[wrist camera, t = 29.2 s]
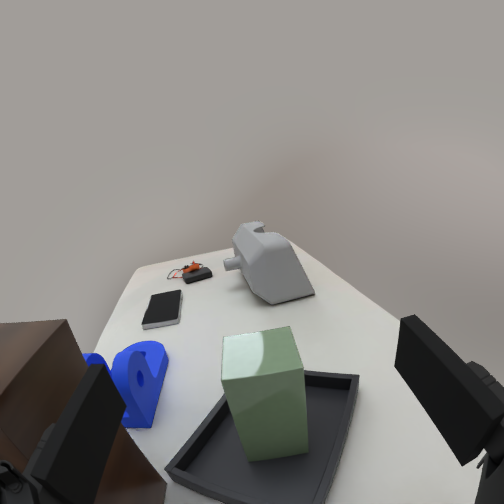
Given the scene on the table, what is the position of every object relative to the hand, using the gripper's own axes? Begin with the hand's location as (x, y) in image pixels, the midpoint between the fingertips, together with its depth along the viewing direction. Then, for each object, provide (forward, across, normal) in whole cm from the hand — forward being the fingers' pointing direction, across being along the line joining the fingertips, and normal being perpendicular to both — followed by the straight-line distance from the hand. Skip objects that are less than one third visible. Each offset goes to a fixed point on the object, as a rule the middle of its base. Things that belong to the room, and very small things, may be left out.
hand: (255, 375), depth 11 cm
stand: (0, -16, -18) cm, 24 cm away
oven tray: (+10, 0, -18) cm, 21 cm away
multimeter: (+69, -18, -19) cm, 74 cm away
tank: (+53, +3, -19) cm, 56 cm away
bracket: (+22, -19, -19) cm, 34 cm away
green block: (+10, 0, -18) cm, 20 cm away
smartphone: (+46, -20, -19) cm, 54 cm away
